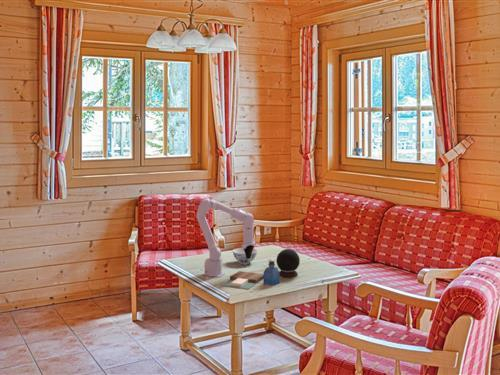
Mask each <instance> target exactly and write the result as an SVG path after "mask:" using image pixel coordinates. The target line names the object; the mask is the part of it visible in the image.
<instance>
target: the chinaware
mask: <svg viewBox="0 0 500 375" xmlns="http://www.w3.org/2000/svg"><path fill="white" fill-rule="evenodd" d="M232 254H233V257H234V259H235V260H236V261H238V262H239V264H241V265H249V264H251V262H252V261H254V259H255V258H256V257H257V254H258V250H257V249H256V248H254V249H253V251H252V254H251V258H250V259H247V258H246V255H245V251H244V249H242V247H238V248H234V249H233V250H232Z"/></svg>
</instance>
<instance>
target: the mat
mask: <svg viewBox="0 0 500 375" xmlns="http://www.w3.org/2000/svg"><path fill="white" fill-rule="evenodd" d="M233 281H234V280H230V279H228V280H227V281H225V282H223V283H222V284H220V286H221V287H227V288H228V287H229V288H235V289H244V290H250V289H252V288H253V287H254V286H256V285H257V284H256V283H251V282H248V283H246V284H245V285H243V286H242V287H240V286H233V285H231V282H233Z"/></svg>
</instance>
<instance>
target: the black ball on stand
mask: <svg viewBox="0 0 500 375" xmlns="http://www.w3.org/2000/svg"><path fill="white" fill-rule="evenodd" d="M275 261H276V266H277V268H278V270H279V272H280V278H282V279H283V278H285V279H292V278H293V277H294V278H296V276H297V277H298V275H299V274H298V272H297V271H296V270H297V269H298V268H299V265H300V263H301V261H300V256H299V254H298V253H297V251H295V250H293V249H290V248H285V249H282V250H281V251H280V252H279V253H278V254H277V256H276V259H275ZM294 278H293V279H294Z"/></svg>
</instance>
